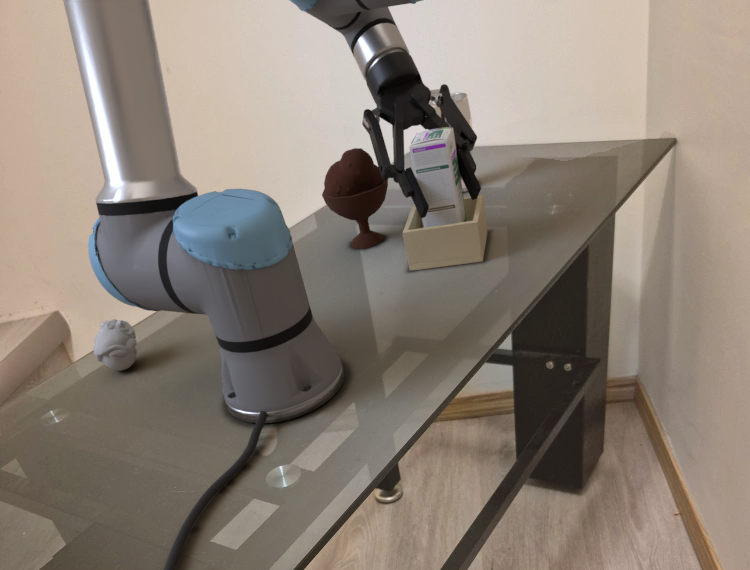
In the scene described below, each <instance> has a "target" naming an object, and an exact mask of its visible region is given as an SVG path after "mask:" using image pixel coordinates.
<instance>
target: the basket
mask: <svg viewBox="0 0 750 570" xmlns="http://www.w3.org/2000/svg"><path fill="white" fill-rule="evenodd" d="M463 198H464V205H465V212H466V219H467V222H460V223H453V224H446V225H439V226H433V227H426V228H424V226H423V220H422V218H421V217H420V215H419V213H418V211H417V208H416V206H415V204H412V207H411V210H410V212H409V215H408V216H407V220H406V222H405V225H404V228H403V231H402V237H403V242H404V247H405V253H406V259H407V263H408V268H409V271H410V272H413V271H421V270H429V269H437V268H443V267H452V266H459V265H467V264H468V265H469V264H476V263H481V262H482V263H483V261H484V256H485V250H486V246H487V245H486V244H487V238H488V223H487V222H488V221H487V215H486V206H485V197H484V194H483V193H482V194H479V195H478V197H477V199H474V200H472V199H471V196H470V195H468V196H463Z"/></svg>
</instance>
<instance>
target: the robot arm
mask: <svg viewBox="0 0 750 570" xmlns="http://www.w3.org/2000/svg"><path fill="white" fill-rule="evenodd" d="M421 1H423V0H289V2H291V3H292V4H294V5H295V6H296V7H297V8H298V9H299V10H300V11H301V12H304V13H306V14H308V15H310V16H312V17H313V18H315V19H316V20H319V21H320V22H322V23H324V24H325V25H327V26H328V27H330V28H332V29H333V30H335V31H337V33H338V32H339V33H340V34H341V35H342V36H343V38H344V39H345V41H346V43H347V45H348V47H349V49H350V51H351V54H352V57H353V58H354V60H355V62H356V65H357V67H358V69H359V71H360V73H361V75H362V77H363V79H364V81H365V83H366V86H367V89H368V90H369V93H370V95H371V97H372V100H373V101H374V103H375V105H376V107H375V108H373V109H372V110H371V109H369V108H366V109H365V110H364V111H363V114H362V115H363V116H362V123H361V124H362V127H363V128H364V129H365V130H366V132H367V133H368V136H369V139H370V141H371V142H370V143H371V146H372V149H373V152H374V156H375V160H376V163H377V166H378V167H379V171H380V174H381V177H382V179H384V180H387V179H388V180H389V179H393V182H394V183H396V184H398V186H399V188H400V190H401V193H402V194H403V196H404V197H405V198H407V199H408V198H411V200H412V202H413V205H415V206H416V208H417V211H418V213H419V215H420V217H421V218H424V217H426V215H427V212H428V208H429V206H428V203H427V201H426V199H425V197H424V195H423V193H422V190H421V188H420V186H419V184H418V182H417V180H416V178H415V176H414V171H413V168H412V167H411V166H409V167H407V168H405V132H404V131H405V130H408V129H409V128H411V127H416V126H421V127H422V128H423V129H424V130H425V131H427V130H431V129H436V128H444V127H450V126H451V127H453V130H454V137H455V144H456V150H457V157H458V164H459V171H460V175H461V177H462V180H463V182H464V184H465V186H466V188H467V190H468V191H467V192H468V195H469V196H471V199H472V200H474V199H477V197H478V195H480V193H481V190H482V186H481V184H480V182H479V181H478V178H477V176H476V174H475V173H476V171H477V164H476V162H475V160H474V158H473V157H474V156H473V154H472V155H471V153H470V151H472V152H473V150H474V147H475V146H476V142H477V139H478V135H477V134H476V132H475V130H473V127H472V128H471V126H470V125H469V123H468V122H467V121H466V119H465V118H464V116H463V115H462V113H461V112H460V110H459V109H458V107H457V106H456V104H455V103H454V101H453V100H452V98H451V95H450V94H451V91H450V88H449V86H448V85H447V84H444V83H442V84H441V85H440V88H437V89H431V90H430V88H429V87H428V86H427V85H425V83H424V82H423V80H422V76H421V74H420V72H419V69H418V67H417V66H416V63H415V61H414V58H413V57H412V55H411V53H410V50H409V48H408V46H407V44H406V42H405V40H404V38H403V35H402V34H401V31H400V29H399V27H398V26H397V24H396V21H395V19H394V17H393V15H392V12H391V11H390V8H389V7H397V6H403V5H410V4H412V5H416V4H417V3H418V2H421ZM62 2H63V5H64V10H65V15H66V18H67V22H68V26H69V27H68V28H69V31H70V36H71V40H72V44H73V48H74V52H75V57H76V62H77V66H78V70H79V75H80V80H81V83H82V88H83V92H84V97H85V101H86V106H87V110H88V113H89V118H90V122H91V127H92V131H93V135H94V140H95V144H96V149H97V154H98V157H99V161H100V165H101V171H102V175H103V179H104V183H103V186H102V187H101V189H100V191H99V192H98V194H97V195H96V197H95V204H96V208H97V213H98V218H97V219H96V220H95V222H94V224H93V225H92V230H93V231H92V233H91V234H90V235H89V236H88V242H87V244H88V245H87V249H88V251H87V252H88V257H89V258H88V259H89V261H90V266H91V269H92V271H93V273H94V275H95V277H96V279H97V280H98V283H100V285H101V286H102V287H103V289H104V290H105V291H106V292H107V293H108V294H109V295H110V296H111V297H113V298H114V299H116V300H117V301H119V302H121V303H123V304H125V305H127V306H131V307H134V308H135V307H137V308H138V309H141V310H144V311H149V312H150V311H152V312H161V311H164V312H172V313H173V312H174V313H183V314H193V315H203V316H207V318H208V320H209V323H210V325H211V328H212V331H213V332H214V335H215V338H216V340H217V343H218V346H219V349H220V363H221V364H220V365H221V389H222V396H223V399H224V402H225V404H226V407H227V410H228V411H229V413H230V414H231V416H233V417H235V418H236V419H238V420H240V421H243V422H246V423H252V424H254V426H253V429H252V431H251V434H250V436H249V439H248V443H247V445H246V448H245V450H244V451H243V452H242V453H241V455H240V456H239V458H238V459H237V460H236V461H235V462H234V463H233V464H232V465H231V466H230V467H229V468H228V469H227V470H226V471H225V472H224V473H223V474H222V475H221V476H219V478H217V479H216V480H215V481H214V482H213V483H212V484H211V485H210V486H209V487H208V488H207V490H206V491H204V493H202V495H201V497H200V498H199V499H198V501H197V502H196V503H195V505H194V506H193V507H192V509H191V511H190V512H189V514H188V515H187V517H186V518H185V520H184V522H183V524H182V526H181V528H180V530H179V532H178V534H177V536H176V537H175V540H174V542H173V544H172V547H171V550H170V552H169V554H168V557H167V560H166V562H165V566H164V568H163V570H176V567H177V564H178V561H179V559H180V555H181V553H182V550H183V548H184V546H185V544H186V541H187V539H188V537H189V535H190V532H191V530H192V529H193V527H194V525H195V523H196V521H197V520H198V518H199V517H200V515H202V514H201V513H203V511H204V510H205V508H206V506H207V505H208V504H209V502H210V501H211V500H212V499H213V498H214V496H216V495H217V493H218V492H219V491H221V489H222V488H223V487H225V486H226V485H227V484H228V483H229V482H230V481H231V480H232V479H233V478H234V477H235V476H236V475H237V474H238V473H239V472H240V471H241V470H242V469H243V468H244V466H246V464H247V463H248V462H249V460H250V459H251V457H252V455H253V454H254V452H255V451H256V447H257V445H258V442H259V439H260V435H261V433H262V431H263V428H264V425H265V424H273V423H279V422H284V421H289V420H292V419H295V418H298V417H301V416H303V415H306V414H308V413H310V412H312V411H314V410H316V409H318V408H319V407H321V406H323V405H324V404H326V403H327V402H328V401H330V400H331V399H332V398H333V397H335V395H336V394H337V393H338V392H339V390H340V389H341V387H342V386H343V384H344V381H345V370H344V367H343V363H342V360H341V358H340V356H339V354H338V352H337V351H336V349H335V348H334V346H333V345H332V343H331V342H330V341H329V339H328V337H327V336H326V335H325V333H324V332H323V331H322V329H321V327H320V326H319V324H318V323H317V321H315V318H314V316H313V312H312V308H311V305H310V300H309V298H308V294H307V290H306V286H305V283H304V279H303V276H302V272H301V269H300V264H299V261H298V257H297V253H296V250H295V247H294V242H293V237H292V234H291V230H290V228H289V227H288V225H287V223H286V221H285V220H286V219H285V218H284V215H283V212H282V209H281V207H280V205H279V204H278V202H276V200H275V199H274V198H273V197H271V196H270V195H268V194H266V193H264V192H261V191H259V190H254V189H248V188H247V189H246V188H227V189H224V190H223V191H216V190H215V191H210V192H206V193H203V194H200V195H199V194H198V188H197V187H196V186H195V185H193V184H192V183H191V182H190V181H189V180H188V179H186V178H185V177H184V175H183V174H182V173H181V168H180V162H179V156H178V151H177V146H176V140H175V135H174V130H173V124H172V118H171V113H170V108H169V101H168V97H167V91H166V86H165V82H164V80H165V79H164V76H163V75H164V74H163V71H162V70H163V69H162V65H161V58H160V54H159V48H158V43H157V37H156V32H155V28H154V20H153V17H152V16H153V15H152V11H151V10H152V9H151V5H150V0H62ZM430 101H434V102H435V104H436V107H440V110H441V112H442V114H443V116H444V117H445V119H446V120H447V122H448V123H449V125H450V126H449V125H448V124H447V123H446V122H445V121H444V120H443V119H442V118H441V117H440V116H439V115H438V114H437V113H436V110H435V109H434V108H433V107H432V106H431V105H430ZM381 119H382V120H383V121H385V122H386V123H388V124H390V125H391V126H392V127H391V128H392V129H391V130H392V143H393V144H392V145H393V148H392V149H393V153H392V154H393V164H391V159H390V157H389V154H388V149H387V146H386V142H385V138H384V135H383V132H382V128H381V124H380V122H381Z"/></svg>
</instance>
